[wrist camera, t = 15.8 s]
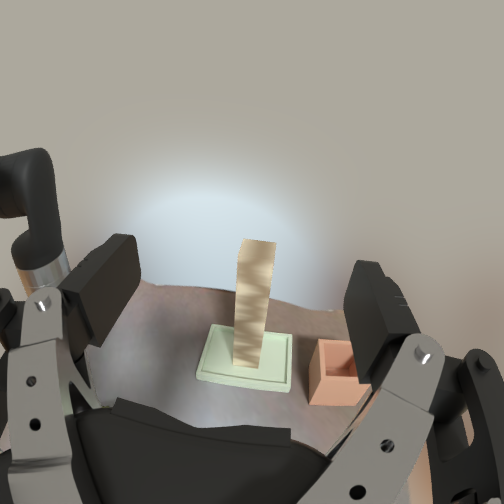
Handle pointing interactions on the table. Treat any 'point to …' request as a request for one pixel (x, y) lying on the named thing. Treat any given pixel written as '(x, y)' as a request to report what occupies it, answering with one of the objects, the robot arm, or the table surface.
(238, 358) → the post
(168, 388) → the table surface
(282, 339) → the tray
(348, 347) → the salmon pink open box
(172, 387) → the table surface
